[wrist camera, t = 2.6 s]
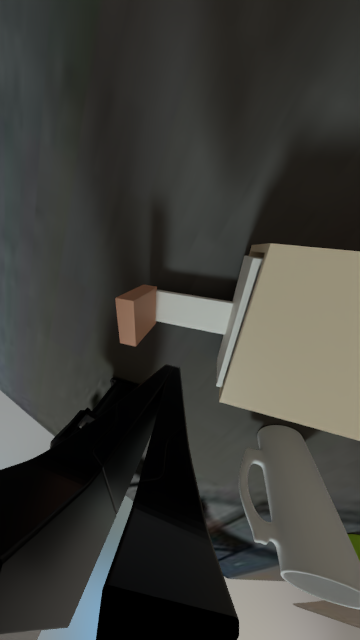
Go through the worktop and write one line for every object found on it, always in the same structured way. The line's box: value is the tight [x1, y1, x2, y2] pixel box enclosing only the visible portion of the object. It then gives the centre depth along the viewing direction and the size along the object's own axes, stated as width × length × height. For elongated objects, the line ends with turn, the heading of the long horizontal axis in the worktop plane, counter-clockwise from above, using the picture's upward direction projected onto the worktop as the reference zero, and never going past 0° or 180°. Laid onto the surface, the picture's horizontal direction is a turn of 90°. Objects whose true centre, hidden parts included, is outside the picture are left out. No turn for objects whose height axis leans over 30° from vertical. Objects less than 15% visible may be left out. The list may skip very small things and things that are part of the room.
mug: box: [239, 425, 360, 609], centre depth 19 cm, size 10×7×12 cm, turn 88°
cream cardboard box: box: [219, 243, 360, 441], centre depth 13 cm, size 16×14×6 cm
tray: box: [115, 255, 264, 387], centre depth 13 cm, size 25×12×6 cm, turn 85°
